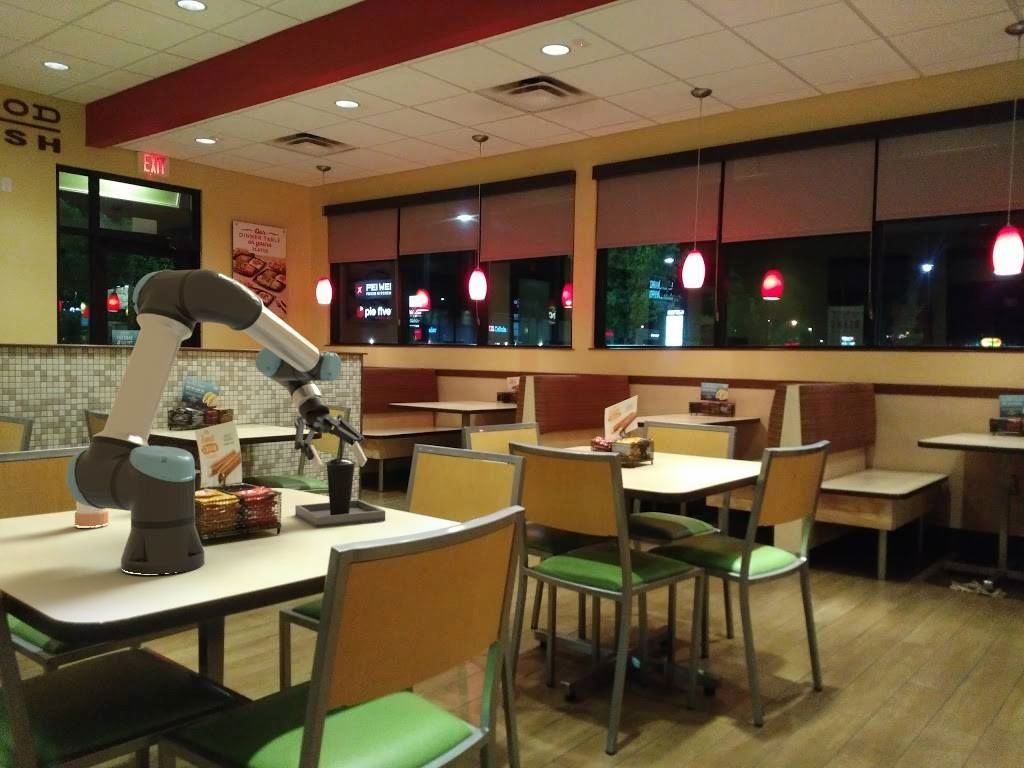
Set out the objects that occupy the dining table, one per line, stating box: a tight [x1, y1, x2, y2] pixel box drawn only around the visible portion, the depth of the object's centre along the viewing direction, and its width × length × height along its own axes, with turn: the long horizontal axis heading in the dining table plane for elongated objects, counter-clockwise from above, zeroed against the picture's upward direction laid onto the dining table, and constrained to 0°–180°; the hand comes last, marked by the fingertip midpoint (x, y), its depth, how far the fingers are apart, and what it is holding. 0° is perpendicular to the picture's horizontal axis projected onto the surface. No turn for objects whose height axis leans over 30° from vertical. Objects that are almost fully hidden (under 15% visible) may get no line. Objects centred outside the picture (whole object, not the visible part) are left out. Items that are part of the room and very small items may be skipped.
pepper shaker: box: [74, 500, 109, 526], centre depth 191 cm, size 7×7×19 cm
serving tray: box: [295, 499, 386, 529], centre depth 204 cm, size 18×18×2 cm
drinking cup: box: [325, 438, 357, 515], centre depth 204 cm, size 8×8×20 cm
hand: (342, 465), depth 204 cm, fingers open, 13 cm apart
